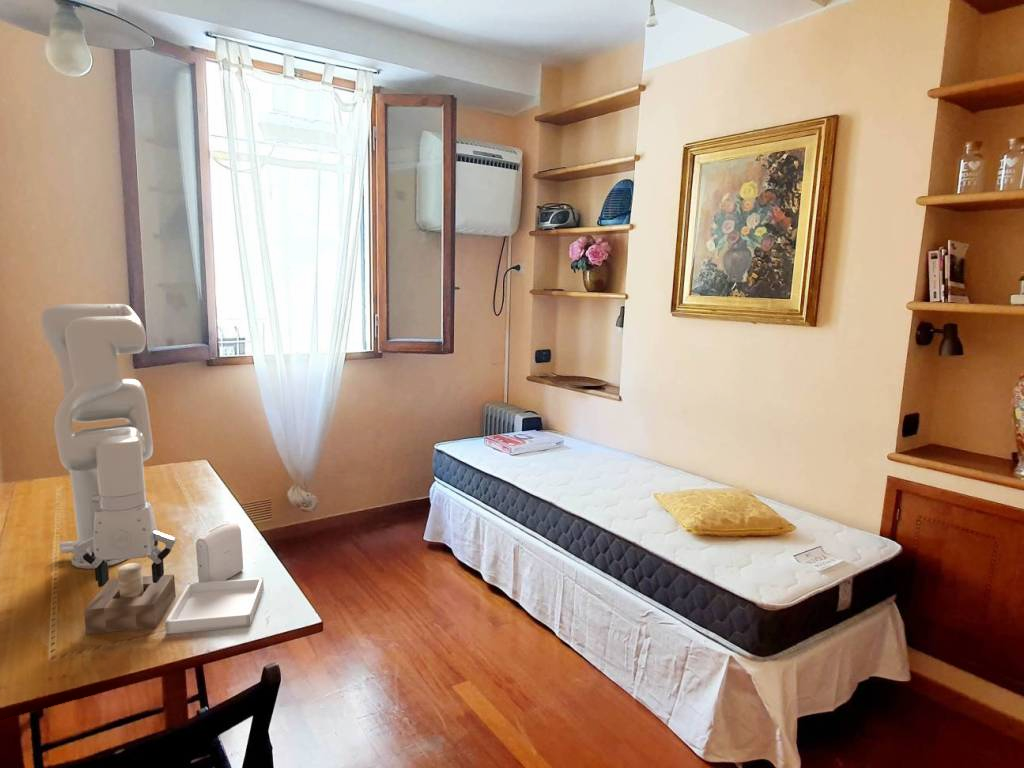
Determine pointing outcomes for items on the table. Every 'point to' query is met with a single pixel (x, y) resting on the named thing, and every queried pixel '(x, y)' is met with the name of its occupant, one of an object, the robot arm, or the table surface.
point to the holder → (129, 606)
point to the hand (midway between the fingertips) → (130, 581)
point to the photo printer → (219, 553)
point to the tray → (215, 605)
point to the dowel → (130, 580)
